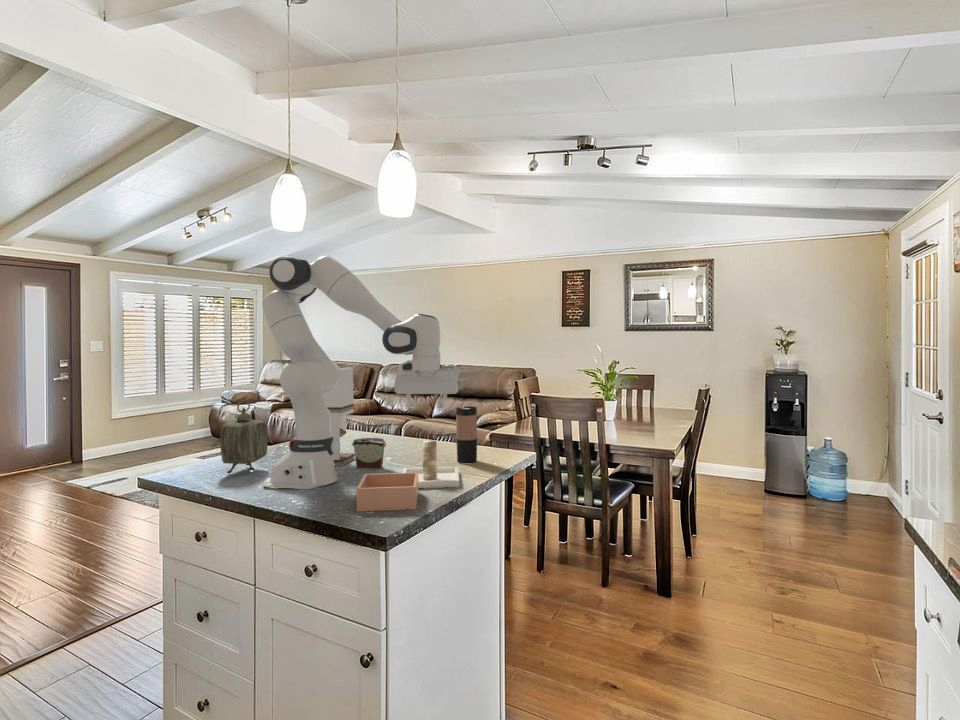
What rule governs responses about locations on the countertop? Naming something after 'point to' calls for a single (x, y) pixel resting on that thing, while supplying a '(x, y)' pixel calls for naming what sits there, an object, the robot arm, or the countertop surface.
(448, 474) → the tray
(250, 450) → the tabletop clock
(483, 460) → the countertop surface
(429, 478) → the dowel pin
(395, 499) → the peach storage bin
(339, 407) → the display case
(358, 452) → the food container
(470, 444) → the travel mug
